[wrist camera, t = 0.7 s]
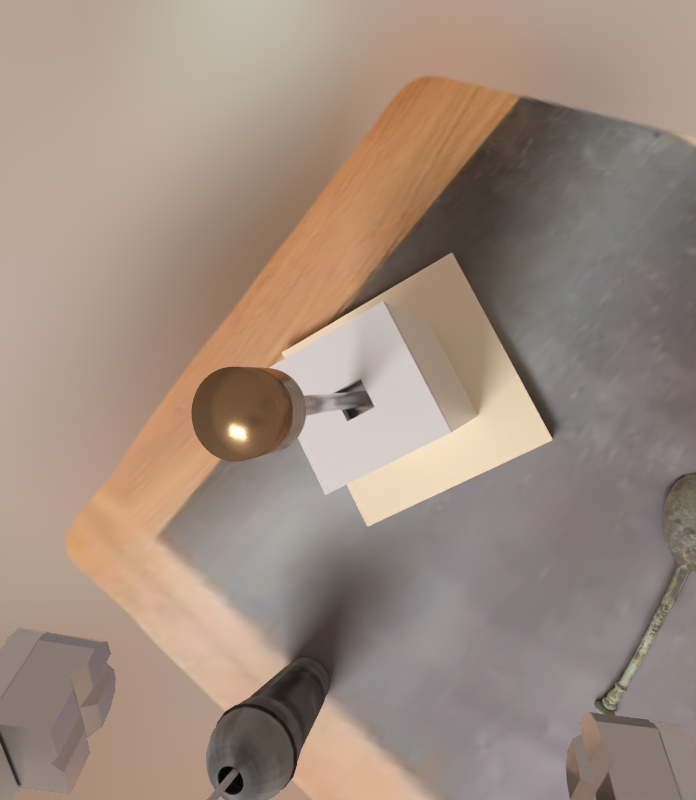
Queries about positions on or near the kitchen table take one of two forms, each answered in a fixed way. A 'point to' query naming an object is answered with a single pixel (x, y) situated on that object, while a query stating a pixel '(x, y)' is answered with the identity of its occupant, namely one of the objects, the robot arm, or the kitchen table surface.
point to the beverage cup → (266, 734)
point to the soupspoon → (692, 551)
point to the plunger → (261, 410)
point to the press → (413, 394)
